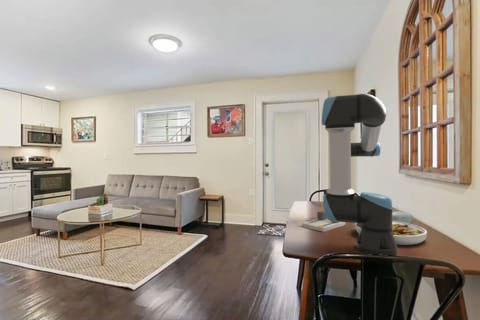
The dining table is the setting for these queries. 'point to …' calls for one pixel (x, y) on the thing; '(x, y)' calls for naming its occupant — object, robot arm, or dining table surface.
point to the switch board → (322, 224)
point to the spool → (402, 217)
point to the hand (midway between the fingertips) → (343, 206)
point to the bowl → (404, 233)
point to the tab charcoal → (321, 215)
